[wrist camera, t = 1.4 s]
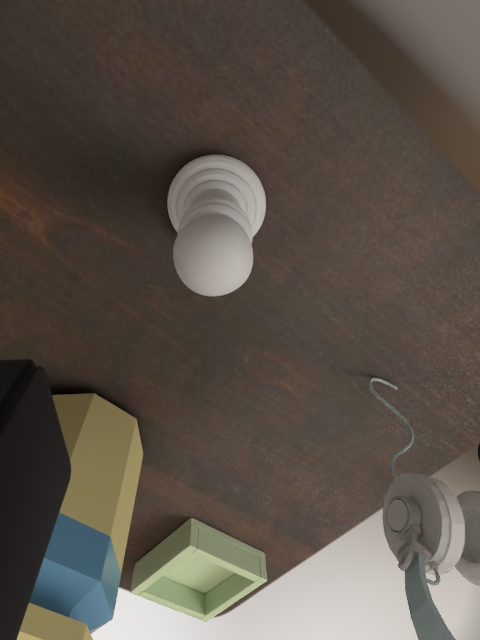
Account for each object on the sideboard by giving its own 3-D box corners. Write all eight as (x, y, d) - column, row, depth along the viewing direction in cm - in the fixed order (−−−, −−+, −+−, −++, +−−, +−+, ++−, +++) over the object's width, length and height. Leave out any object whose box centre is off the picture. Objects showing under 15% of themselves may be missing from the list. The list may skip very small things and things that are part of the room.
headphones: (314, 382, 31) (430, 776, 14) (343, 338, 30) (515, 729, 12) (410, 415, 33) (613, 795, 16) (443, 376, 32) (709, 757, 14)
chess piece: (186, 259, 26) (173, 344, 19) (153, 168, 24) (122, 224, 16) (274, 235, 26) (298, 312, 18) (251, 140, 23) (268, 183, 15)
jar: (129, 485, 36) (80, 724, 23) (11, 460, 34) (-115, 707, 21) (161, 402, 32) (123, 639, 19) (28, 368, 30) (-117, 607, 17)
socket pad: (134, 563, 42) (129, 592, 39) (191, 517, 38) (189, 545, 36) (206, 593, 45) (206, 622, 42) (264, 552, 42) (267, 581, 39)
